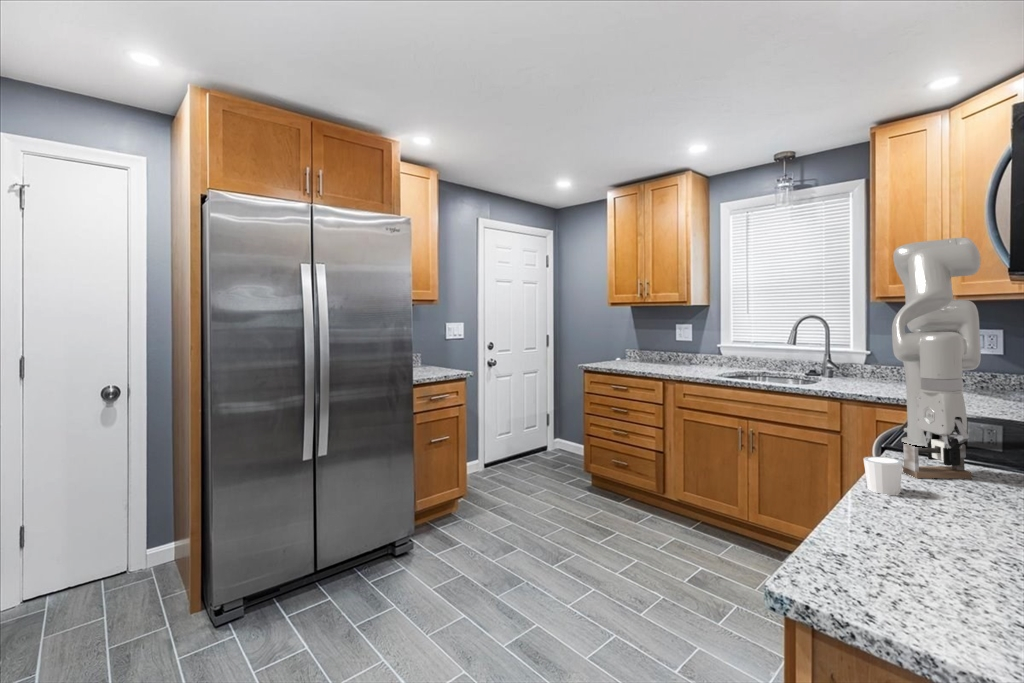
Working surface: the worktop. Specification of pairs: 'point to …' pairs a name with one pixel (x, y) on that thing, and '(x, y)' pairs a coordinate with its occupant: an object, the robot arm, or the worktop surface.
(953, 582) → the worktop surface
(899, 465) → the shot glass
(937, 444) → the sleeve
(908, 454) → the wooden stand
